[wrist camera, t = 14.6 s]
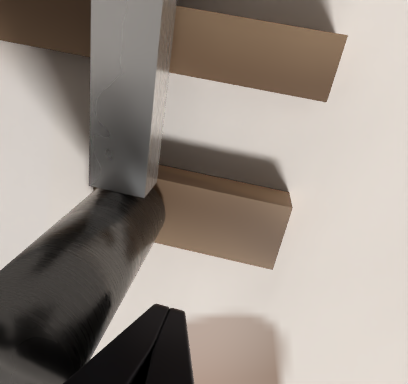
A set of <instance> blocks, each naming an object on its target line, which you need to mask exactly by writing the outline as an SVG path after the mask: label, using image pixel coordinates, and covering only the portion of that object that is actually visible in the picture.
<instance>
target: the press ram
mask: <svg viewBox="0 0 408 384" xmlns="http://www.w3.org/2000/svg"><path fill="white" fill-rule="evenodd" d="M176 4H177V0H91V57H90V154H89V186H92V187H96V188H97V189H96V190H95V191H93V192H92V193H91V194H90V195H89V196H88V197H86V198H85V199H84V200H83V201H82V202H81V203H79V204H78V205H77V206H76V207H75V208H73V209H72V210H71V211H70V212H69V213H68V214H66V215H65V216H64V217H63V218H62V219H61V220H59V221H58V222H57V223H56V224H55V225H53V226H52V227H51V228H50V229H49V230H48V231H46V232H45V233H44V234H43V235H42V236H40V237H39V238H38V239H37V240H36V241H35V242H33V243H32V244H31V245H30V246H29V247H28V248H26V249H25V250H24V251H23V252H22V253H20V254H19V255H18V256H17V257H16V258H15V259H13V260H12V261H11V262H10V263H9V264H7V265H6V266H5V267H4V268H3V269H2V270H0V384H63V383H64V382H65V381H67V380H68V379H69V378H70V377H71V376H72V375H73V374H75V373H76V372H77V371H78V370H79V369H80V368H81V367H83V366H84V365H85V364H86V363H87V362H88V361H89V360H90V358H91V356H92V355H93V353H94V351H95V349H96V347H97V346H98V344H99V342H100V340H101V338H102V336H103V335H104V333H105V331H106V329H107V327H108V325H109V324H110V322H111V320H112V318H113V316H114V314H115V313H116V311H117V309H118V307H119V305H120V303H121V302H122V300H123V298H124V296H125V294H126V292H127V291H128V289H129V287H130V285H131V283H132V282H133V280H134V278H135V276H136V274H137V272H138V271H139V269H140V267H141V265H142V263H143V261H144V260H145V258H146V256H147V254H148V252H149V250H150V249H151V247H152V245H153V243H154V241H155V239H156V238H157V236H158V234H159V232H160V230H161V228H162V227H163V224H164V221H165V207H164V204H163V201H162V199H161V197H160V196H159V194H158V193H157V191H156V190H155V189H154V188H153V186H154V185H155V184H156V183H157V177H158V168H159V159H160V150H161V141H162V132H163V122H164V113H165V104H166V95H167V86H168V77H169V68H170V59H171V50H172V41H173V31H174V22H175V13H176Z"/></svg>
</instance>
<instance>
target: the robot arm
mask: <svg viewBox="0 0 408 384" xmlns="http://www.w3.org/2000/svg"><path fill="white" fill-rule="evenodd" d="M63 384H194V379H193V371H192V364H191V356H190V348H189V340H188V332H187V324H186V316H185V312H184V311H182V310H178V309H174V308H170V309H169V307H167V306H163V305H159V304H154V305H153V306H152V307H150V308H149V309H148V310H147V311H146V312H145V313H143V314H142V315H141V316H140V317H139V318H138V319H137V320H135V321H134V322H133V323H132V324H131V325H130V326H129V327H127V328H126V329H125V330H124V331H123V332H122V333H121V334H119V335H118V336H117V337H116V338H115V339H114V340H112V341H111V342H110V343H109V344H108V345H107V346H106V347H104V348H103V349H102V350H101V351H100V352H99V353H98V354H96V355H95V356H94V357H93V358H92V359H91V360H90V361H88V362H87V363H86V364H85V365H84V366H83V367H81V368H80V369H79V370H78V371H77V372H76V373H75V374H73V375H72V376H71V377H70V378H69V379H68V380H67V381H65V382H64V383H63Z"/></svg>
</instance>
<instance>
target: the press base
mask: <svg viewBox="0 0 408 384" xmlns="http://www.w3.org/2000/svg"><path fill="white" fill-rule="evenodd" d="M347 37H348V35H343V34H337V33H331V32H325V31H320V30H314V29H308V28H302V27H297V26H291V25H285V24H279V23H274V22H268V21H262V20H256V19H251V18H245V17H239V16H234V15H228V14H222V13H216V12H211V11H205V10H199V9H193V8H188V7H182V6H176V13H175V22H174V31H173V41H172V50H171V59H170V68H169V72H170V73H176V74H181V75H186V76H191V77H197V78H202V79H207V80H212V81H218V82H223V83H228V84H233V85H239V86H244V87H249V88H254V89H260V90H265V91H270V92H275V93H281V94H286V95H291V96H296V97H302V98H307V99H312V100H317V101H323V102H327V99H328V96H329V93H330V90H331V87H332V83H333V80H334V77H335V74H336V71H337V68H338V65H339V62H340V59H341V55H342V52H343V49H344V46H345V43H346V40H347ZM0 40H2V41H8V42H13V43H18V44H23V45H29V46H34V47H39V48H44V49H50V50H55V51H60V52H65V53H71V54H76V55H81V56H86V57H91V0H0ZM153 188H154V189H155V190H156V191H157V193H158V194H159V196H160V197H161V199H162V201H163V204H164V207H165V221H164V224H163V227H162V228H161V230H160V232H159V234H158V236H157V238H156V239H155V241H154V242H155V243H159V244H164V245H168V246H172V247H177V248H181V249H185V250H189V251H194V252H198V253H202V254H207V255H211V256H215V257H220V258H224V259H228V260H233V261H237V262H241V263H246V264H250V265H254V266H259V267H263V268H267V269H271V270H273V267H274V264H275V261H276V258H277V255H278V251H279V248H280V245H281V242H282V239H283V236H284V233H285V230H286V227H287V223H288V220H289V217H290V214H291V211H292V203H291V199H290V194H289V192H285V191H281V190H276V189H271V188H267V187H262V186H257V185H253V184H248V183H243V182H239V181H234V180H229V179H224V178H220V177H215V176H210V175H206V174H201V173H196V172H192V171H187V170H182V169H177V168H173V167H168V166H163V165H159V168H158V177H157V183H156V184H155V185H154V186H153ZM96 189H97V188H96V187H94V191H95V190H96Z"/></svg>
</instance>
